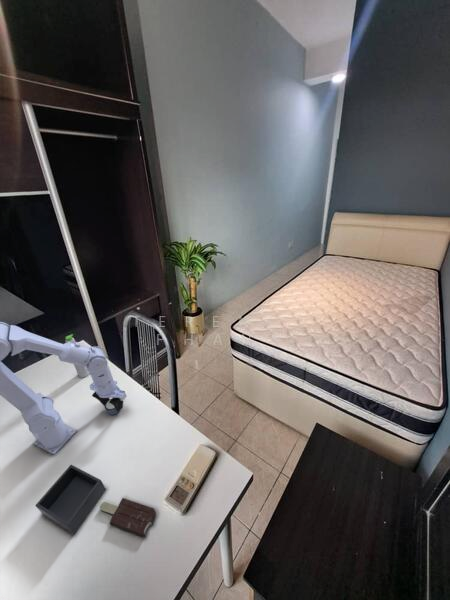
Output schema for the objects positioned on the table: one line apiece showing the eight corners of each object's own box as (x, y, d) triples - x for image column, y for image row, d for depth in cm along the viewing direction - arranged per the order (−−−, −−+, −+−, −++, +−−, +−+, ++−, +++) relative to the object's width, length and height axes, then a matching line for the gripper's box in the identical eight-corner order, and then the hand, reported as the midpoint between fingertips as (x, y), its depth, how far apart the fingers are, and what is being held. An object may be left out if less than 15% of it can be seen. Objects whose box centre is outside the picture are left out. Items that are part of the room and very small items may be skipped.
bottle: (91, 373, 107) (76, 336, 97) (81, 379, 104) (64, 341, 94) (87, 368, 110) (72, 332, 100) (77, 374, 107) (60, 337, 97)
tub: (43, 514, 63) (35, 505, 61) (76, 473, 72) (70, 464, 69) (74, 535, 59) (66, 526, 57) (106, 489, 68) (100, 479, 65)
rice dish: (103, 413, 89) (100, 407, 87) (114, 401, 93) (112, 395, 92) (115, 418, 87) (112, 412, 86) (126, 405, 92) (124, 399, 90)
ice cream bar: (94, 519, 62) (147, 538, 58) (92, 516, 61) (146, 535, 58) (108, 495, 66) (158, 511, 63) (106, 492, 66) (157, 508, 62)
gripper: (128, 376, 84) (137, 403, 90) (96, 366, 89) (107, 392, 95) (113, 392, 78) (123, 420, 85) (80, 381, 83) (92, 407, 90)
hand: (113, 406), depth 90 cm, fingers closed on rice dish, 5 cm apart
